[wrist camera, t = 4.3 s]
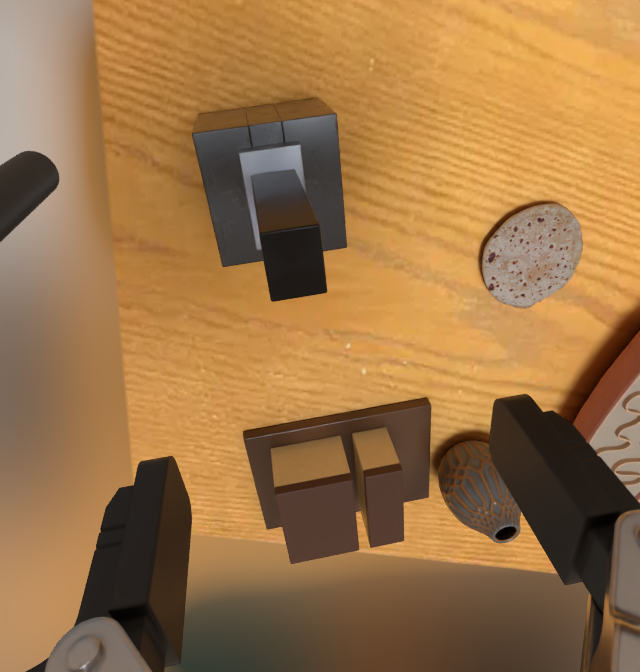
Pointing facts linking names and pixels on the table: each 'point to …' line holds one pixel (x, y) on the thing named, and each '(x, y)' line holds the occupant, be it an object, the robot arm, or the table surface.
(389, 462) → the cake slice
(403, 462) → the cake board
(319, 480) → the cake
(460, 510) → the vase
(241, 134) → the knife block
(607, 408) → the mitochondrion model
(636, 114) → the table surface
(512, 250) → the flatbread
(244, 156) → the knife
